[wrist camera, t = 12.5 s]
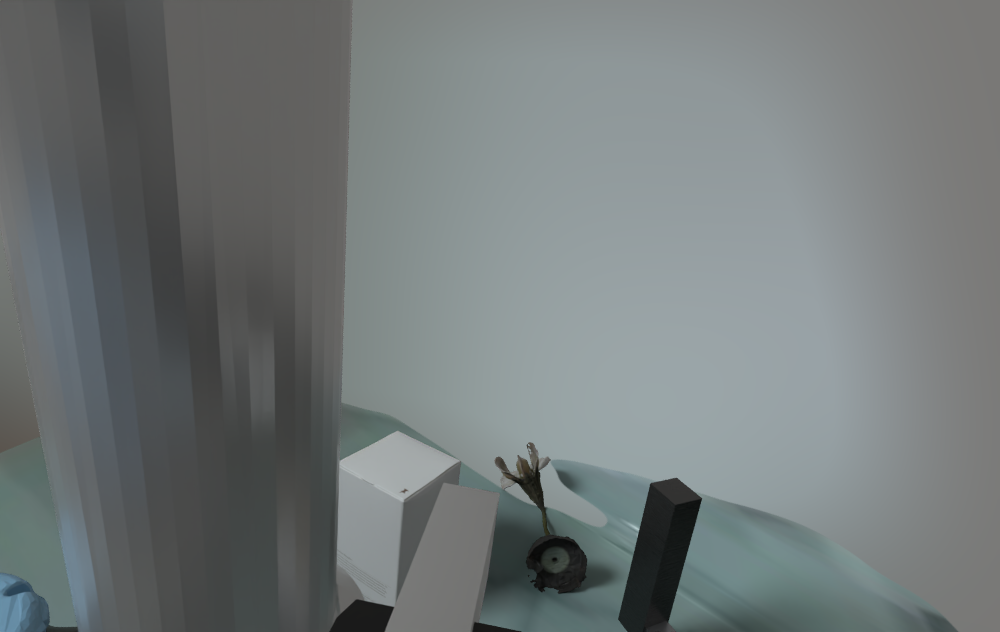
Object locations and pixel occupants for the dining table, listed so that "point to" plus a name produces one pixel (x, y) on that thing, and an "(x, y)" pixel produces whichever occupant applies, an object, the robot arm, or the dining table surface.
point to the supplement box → (387, 510)
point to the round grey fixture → (659, 556)
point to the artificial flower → (546, 532)
